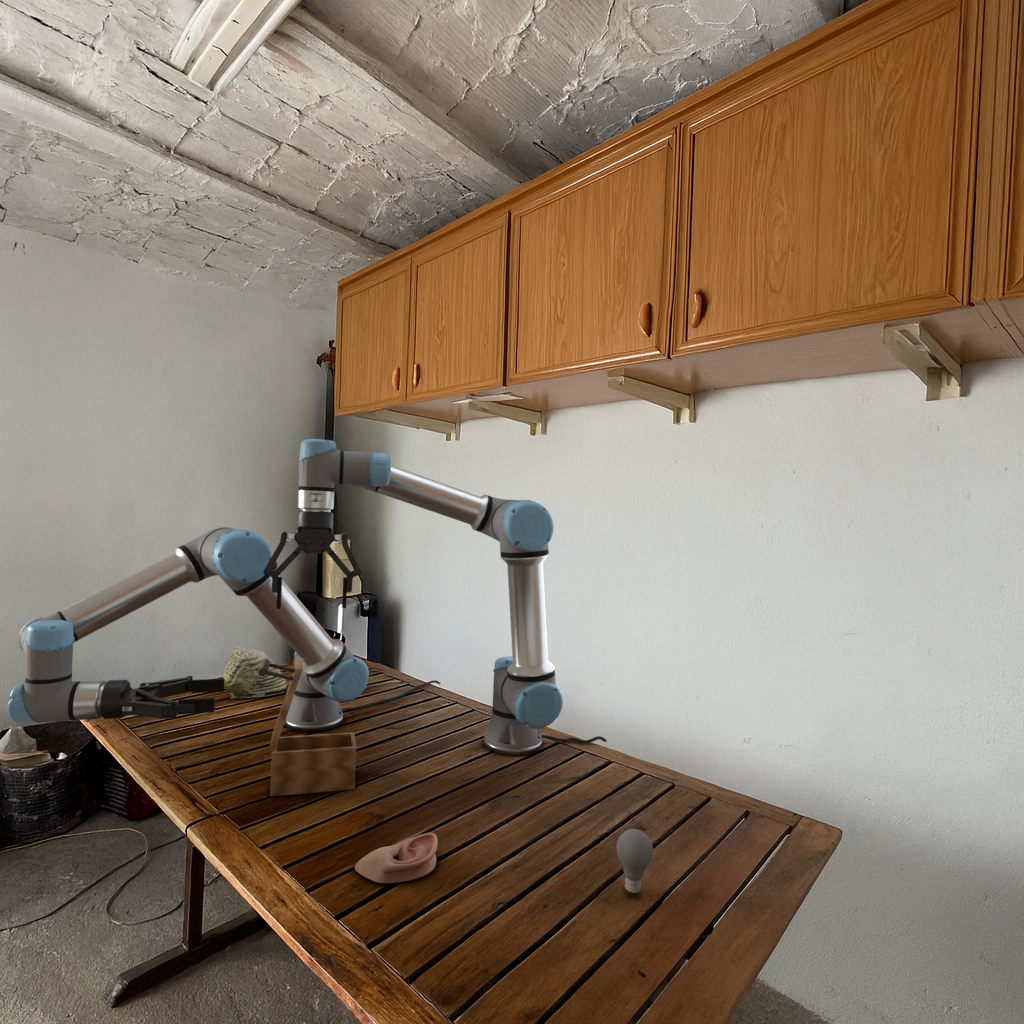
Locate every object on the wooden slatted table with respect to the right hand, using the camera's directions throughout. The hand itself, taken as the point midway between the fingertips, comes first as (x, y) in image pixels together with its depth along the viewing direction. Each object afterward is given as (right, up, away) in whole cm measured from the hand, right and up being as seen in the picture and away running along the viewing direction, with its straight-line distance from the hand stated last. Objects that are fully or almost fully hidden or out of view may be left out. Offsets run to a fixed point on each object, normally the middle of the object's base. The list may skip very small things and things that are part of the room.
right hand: (311, 607), depth 139 cm
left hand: (-18, -18, -5) cm, 26 cm away
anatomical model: (+24, -41, -29) cm, 55 cm away
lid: (-5, -21, -1) cm, 21 cm away
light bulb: (+64, -43, -33) cm, 84 cm away
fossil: (-37, -36, +60) cm, 79 cm away
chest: (0, -39, +1) cm, 39 cm away
